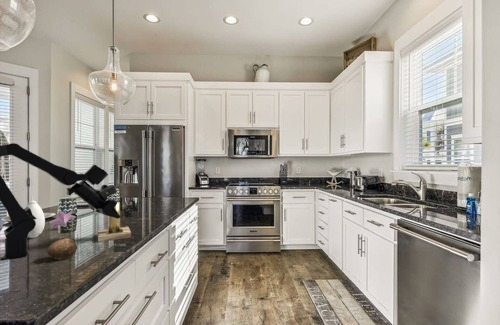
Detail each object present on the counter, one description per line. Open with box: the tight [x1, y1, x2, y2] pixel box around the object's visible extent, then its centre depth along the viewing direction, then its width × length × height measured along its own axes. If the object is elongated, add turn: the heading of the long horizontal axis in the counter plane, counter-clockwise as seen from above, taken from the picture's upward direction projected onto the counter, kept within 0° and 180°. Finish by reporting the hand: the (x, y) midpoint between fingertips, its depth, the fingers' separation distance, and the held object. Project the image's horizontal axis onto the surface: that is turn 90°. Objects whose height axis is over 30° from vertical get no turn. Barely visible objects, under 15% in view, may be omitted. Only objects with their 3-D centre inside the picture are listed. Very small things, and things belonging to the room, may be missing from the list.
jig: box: [97, 226, 132, 243], centre depth 111 cm, size 12×12×2 cm
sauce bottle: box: [24, 194, 46, 239], centre depth 109 cm, size 8×8×18 cm
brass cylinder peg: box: [107, 201, 121, 234], centre depth 111 cm, size 4×4×13 cm
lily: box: [48, 210, 76, 230], centre depth 123 cm, size 11×11×9 cm
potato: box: [46, 238, 78, 261], centre depth 87 cm, size 8×8×6 cm
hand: (117, 216), depth 112 cm, fingers closed on brass cylinder peg, 4 cm apart
